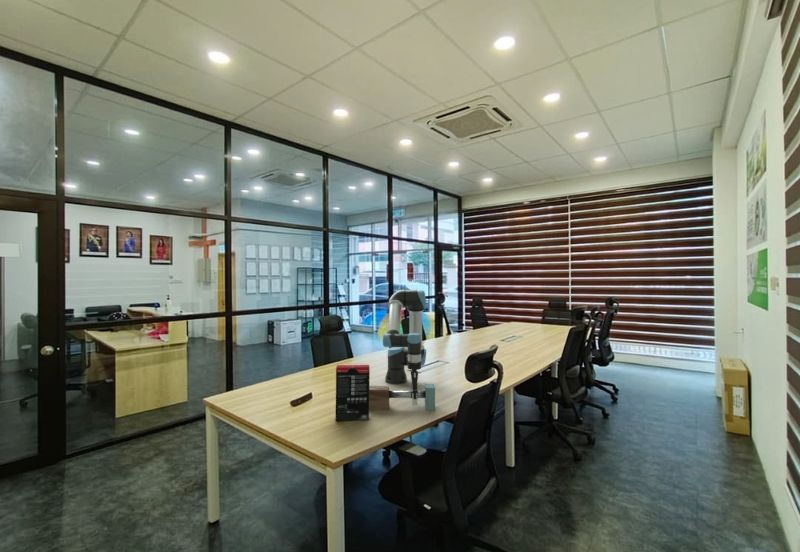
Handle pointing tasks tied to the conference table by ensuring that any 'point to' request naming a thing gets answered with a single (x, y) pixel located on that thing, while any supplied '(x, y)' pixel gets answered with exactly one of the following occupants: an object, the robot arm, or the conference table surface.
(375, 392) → the brown wooden block
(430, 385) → the teal rectangular block
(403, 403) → the conference table surface
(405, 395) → the tube
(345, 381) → the graphics card box
